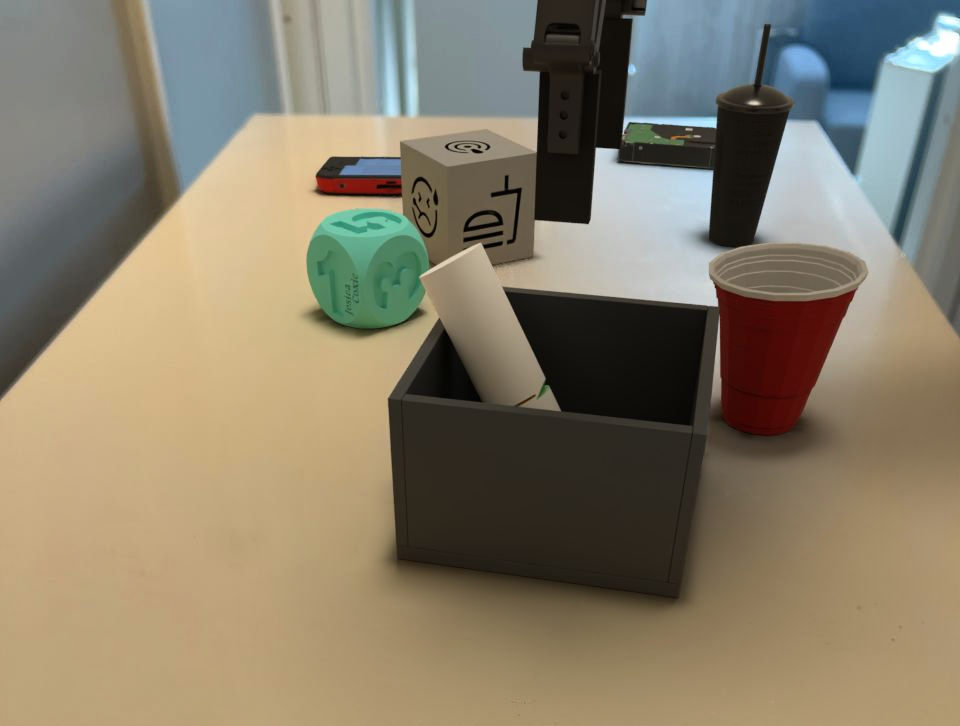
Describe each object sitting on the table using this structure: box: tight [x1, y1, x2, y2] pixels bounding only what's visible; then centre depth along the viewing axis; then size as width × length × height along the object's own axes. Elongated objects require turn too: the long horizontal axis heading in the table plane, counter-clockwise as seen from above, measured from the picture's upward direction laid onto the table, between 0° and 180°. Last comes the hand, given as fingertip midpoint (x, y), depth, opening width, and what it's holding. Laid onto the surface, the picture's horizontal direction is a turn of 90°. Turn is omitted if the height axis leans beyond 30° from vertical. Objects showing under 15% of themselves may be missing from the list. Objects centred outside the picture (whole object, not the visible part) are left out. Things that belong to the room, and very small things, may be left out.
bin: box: [387, 286, 720, 599], centre depth 64 cm, size 18×18×11 cm
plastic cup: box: [708, 242, 869, 436], centre depth 73 cm, size 11×11×12 cm
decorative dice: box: [305, 208, 430, 329], centre depth 89 cm, size 8×8×8 cm
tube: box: [419, 243, 561, 411], centre depth 63 cm, size 4×4×15 cm
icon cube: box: [399, 128, 537, 266], centre depth 101 cm, size 10×10×10 cm
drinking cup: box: [708, 23, 795, 248], centre depth 101 cm, size 8×8×20 cm
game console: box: [315, 155, 402, 195], centre depth 121 cm, size 14×13×2 cm
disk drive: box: [617, 121, 716, 170], centre depth 131 cm, size 10×3×15 cm
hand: (581, 180), depth 54 cm, fingers open, 13 cm apart
